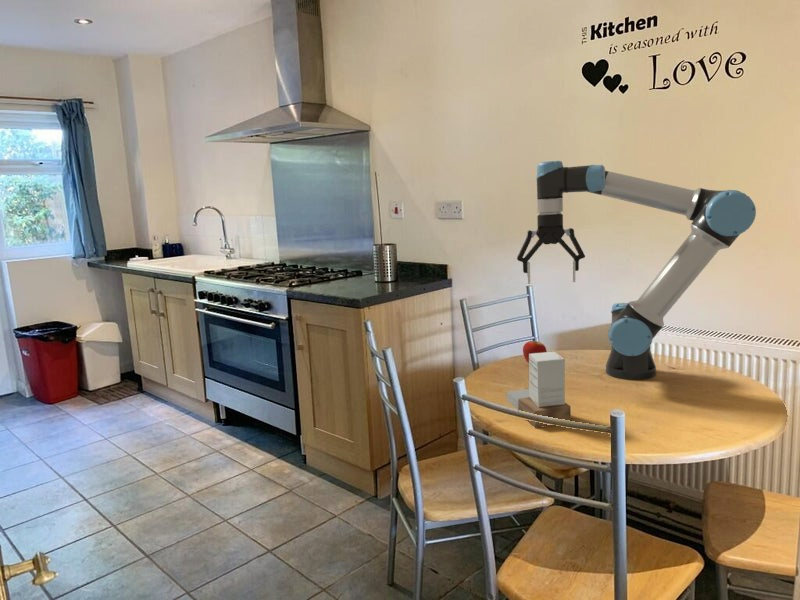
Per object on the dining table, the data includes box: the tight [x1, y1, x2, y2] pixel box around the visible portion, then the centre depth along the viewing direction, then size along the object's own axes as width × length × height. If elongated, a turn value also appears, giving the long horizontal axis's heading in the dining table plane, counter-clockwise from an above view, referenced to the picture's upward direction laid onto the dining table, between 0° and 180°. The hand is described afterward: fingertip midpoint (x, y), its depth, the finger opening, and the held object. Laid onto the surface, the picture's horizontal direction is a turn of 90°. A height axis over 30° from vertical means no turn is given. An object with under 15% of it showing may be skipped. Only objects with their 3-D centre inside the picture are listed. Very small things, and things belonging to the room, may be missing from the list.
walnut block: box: [517, 397, 572, 429], centre depth 152 cm, size 10×10×5 cm
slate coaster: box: [506, 388, 530, 410], centre depth 164 cm, size 9×9×3 cm
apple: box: [522, 337, 548, 364], centre depth 200 cm, size 8×8×10 cm
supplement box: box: [528, 351, 566, 407], centre depth 151 cm, size 7×7×13 cm
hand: (550, 282), depth 177 cm, fingers open, 13 cm apart
